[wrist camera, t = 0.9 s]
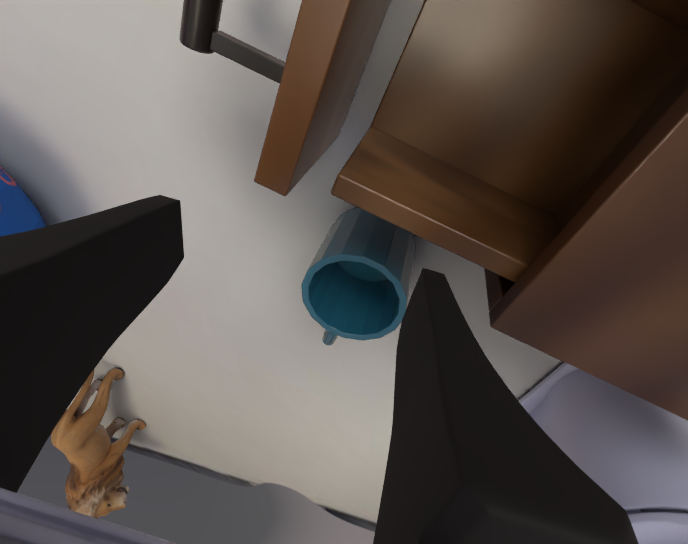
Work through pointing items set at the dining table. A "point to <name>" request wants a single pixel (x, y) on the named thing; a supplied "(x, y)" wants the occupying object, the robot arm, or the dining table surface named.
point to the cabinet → (616, 276)
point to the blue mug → (360, 277)
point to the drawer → (469, 110)
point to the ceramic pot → (16, 208)
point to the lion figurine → (94, 450)
